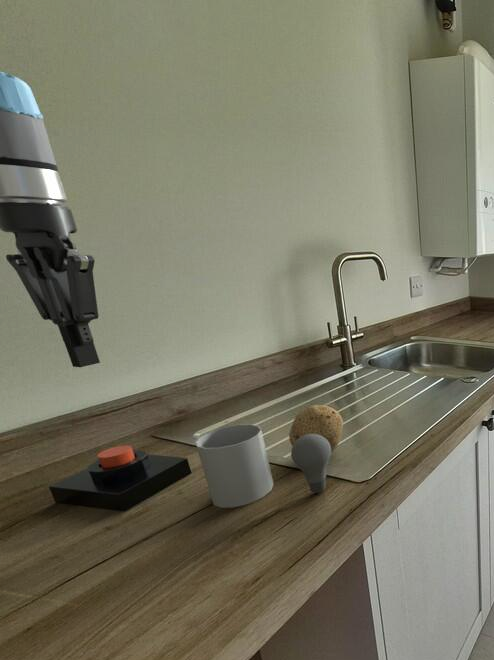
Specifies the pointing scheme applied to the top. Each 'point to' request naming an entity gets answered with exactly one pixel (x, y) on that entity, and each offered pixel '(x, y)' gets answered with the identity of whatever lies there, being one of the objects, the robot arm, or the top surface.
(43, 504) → the top surface
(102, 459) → the button
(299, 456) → the light bulb
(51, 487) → the black button base
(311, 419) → the natural sponge
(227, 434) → the cup
